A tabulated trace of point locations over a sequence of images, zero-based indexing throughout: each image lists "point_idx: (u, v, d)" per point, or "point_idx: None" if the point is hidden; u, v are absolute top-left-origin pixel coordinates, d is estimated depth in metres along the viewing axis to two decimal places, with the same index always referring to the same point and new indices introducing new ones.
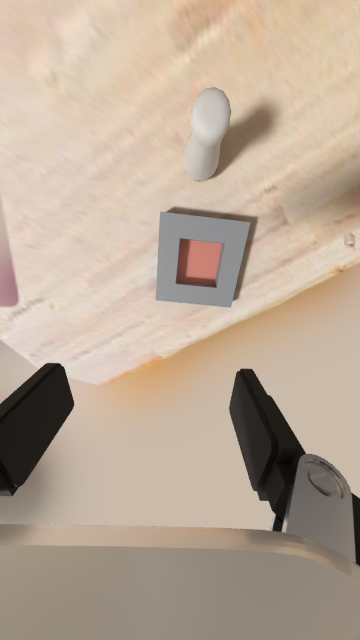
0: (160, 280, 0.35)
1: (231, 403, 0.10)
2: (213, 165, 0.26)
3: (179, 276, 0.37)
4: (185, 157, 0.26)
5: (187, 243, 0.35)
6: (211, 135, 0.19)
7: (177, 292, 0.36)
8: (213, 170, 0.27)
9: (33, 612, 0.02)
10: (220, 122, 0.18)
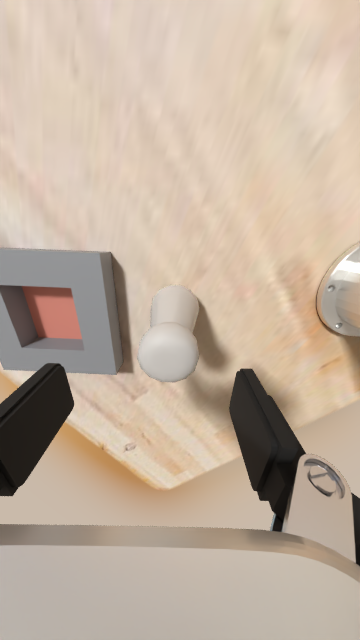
0: None
1: (231, 403, 0.10)
2: None
3: None
4: (167, 293, 0.18)
5: None
6: (141, 363, 0.12)
7: None
8: None
9: (33, 612, 0.02)
10: (156, 375, 0.12)
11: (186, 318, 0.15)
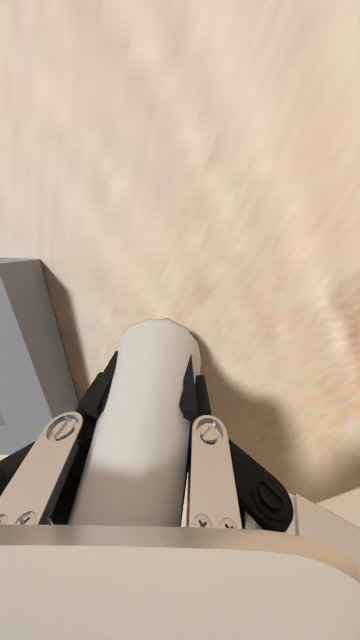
0: None
1: None
2: None
3: None
4: (138, 343, 0.09)
5: None
6: None
7: None
8: None
9: (33, 612, 0.02)
10: None
11: (174, 436, 0.06)
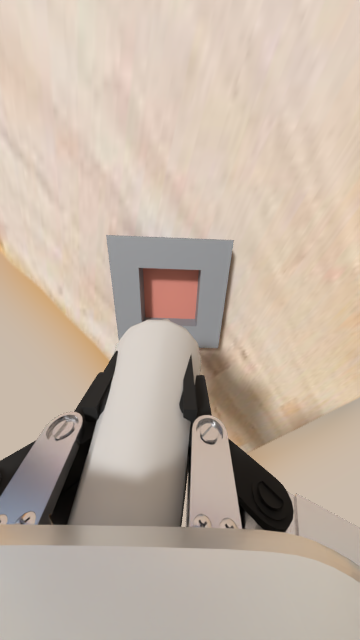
0: (140, 242, 0.22)
1: None
2: None
3: (150, 269, 0.26)
4: (138, 343, 0.09)
5: (192, 278, 0.27)
6: None
7: (125, 270, 0.23)
8: None
9: (33, 612, 0.02)
10: None
11: (174, 437, 0.06)
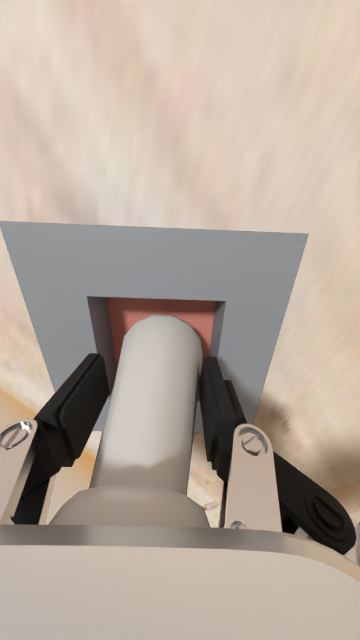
0: (83, 239, 0.09)
1: (200, 389, 0.11)
2: None
3: None
4: (146, 335, 0.10)
5: (204, 309, 0.14)
6: None
7: (57, 302, 0.11)
8: None
9: (33, 612, 0.02)
10: None
11: (181, 413, 0.07)
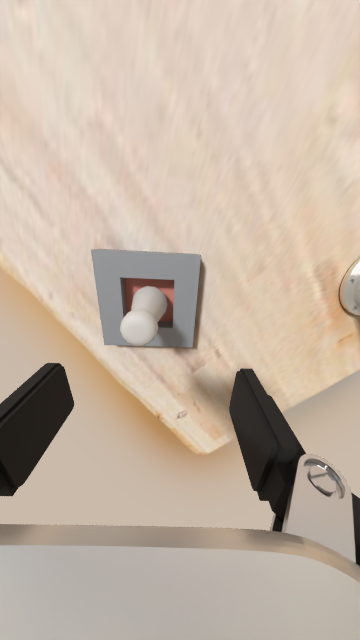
0: (120, 256, 0.26)
1: (231, 403, 0.10)
2: None
3: (131, 278, 0.30)
4: (143, 291, 0.26)
5: (169, 286, 0.30)
6: (122, 332, 0.20)
7: (108, 279, 0.27)
8: None
9: (33, 612, 0.02)
10: (131, 340, 0.20)
11: (153, 308, 0.23)
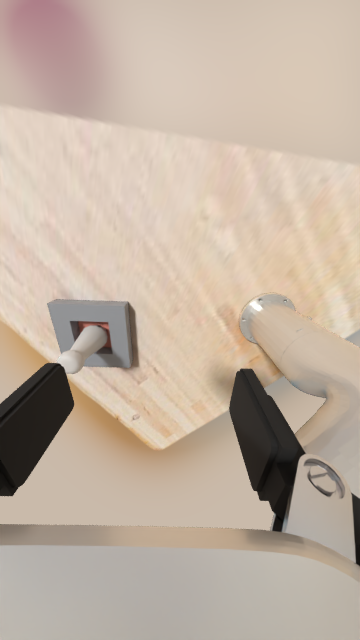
0: (68, 307, 0.37)
1: (231, 403, 0.10)
2: None
3: None
4: (84, 331, 0.37)
5: None
6: None
7: (61, 322, 0.38)
8: None
9: (33, 612, 0.02)
10: None
11: (86, 346, 0.34)
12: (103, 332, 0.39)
